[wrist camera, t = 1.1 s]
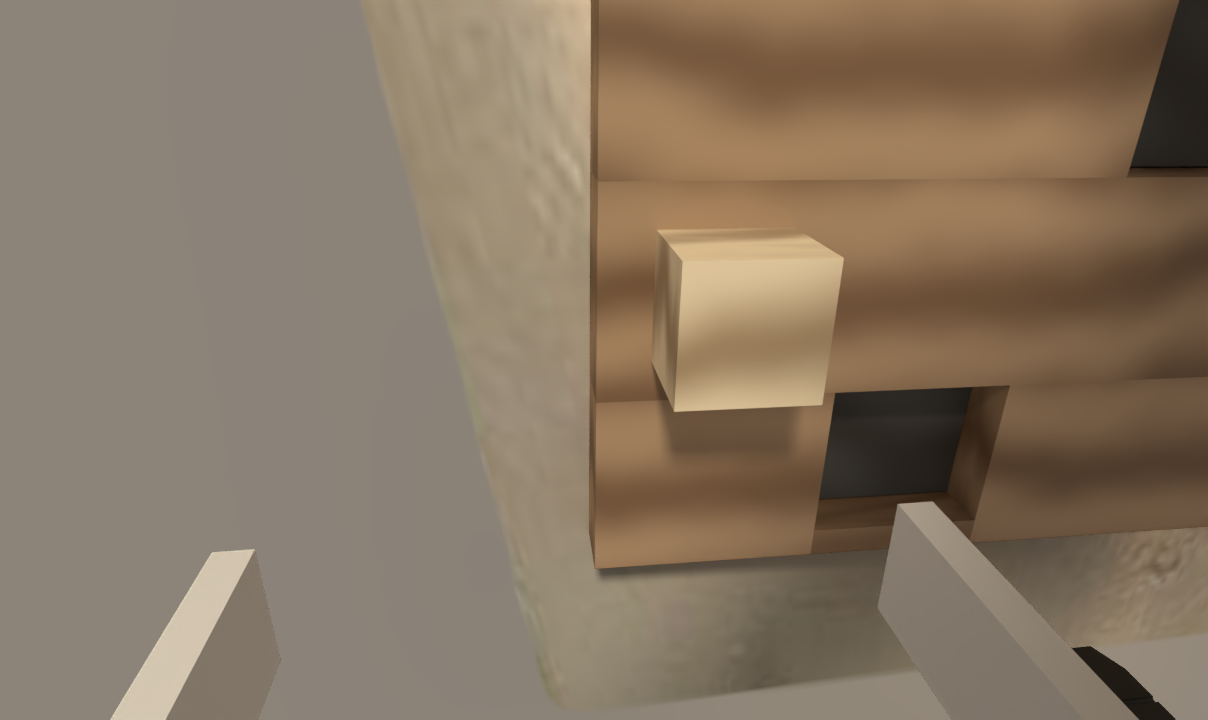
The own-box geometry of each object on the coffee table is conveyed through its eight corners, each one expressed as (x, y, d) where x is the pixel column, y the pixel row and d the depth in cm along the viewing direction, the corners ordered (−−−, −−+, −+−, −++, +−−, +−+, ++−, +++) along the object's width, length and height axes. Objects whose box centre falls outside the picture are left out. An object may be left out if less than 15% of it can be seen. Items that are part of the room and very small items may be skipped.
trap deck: (591, -79, 28) (610, -112, 22) (1459, -50, 32) (1654, -72, 27) (589, 532, 39) (601, 610, 34) (1229, 492, 43) (1333, 555, 38)
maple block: (656, 229, 30) (682, 261, 25) (794, 227, 30) (844, 257, 26) (651, 361, 32) (674, 411, 28) (779, 356, 33) (822, 405, 28)
